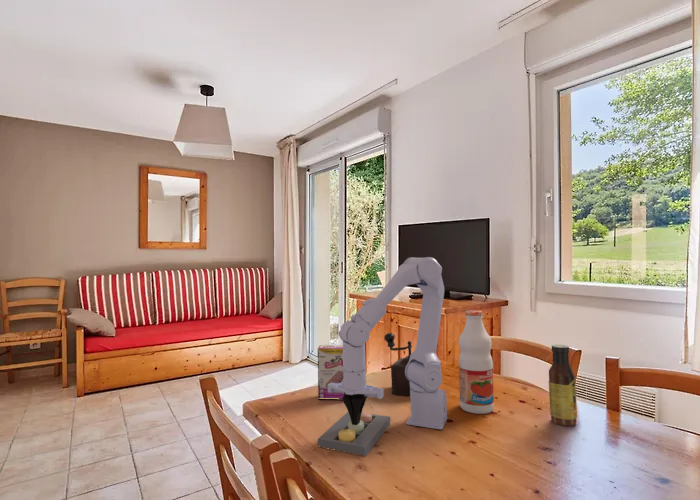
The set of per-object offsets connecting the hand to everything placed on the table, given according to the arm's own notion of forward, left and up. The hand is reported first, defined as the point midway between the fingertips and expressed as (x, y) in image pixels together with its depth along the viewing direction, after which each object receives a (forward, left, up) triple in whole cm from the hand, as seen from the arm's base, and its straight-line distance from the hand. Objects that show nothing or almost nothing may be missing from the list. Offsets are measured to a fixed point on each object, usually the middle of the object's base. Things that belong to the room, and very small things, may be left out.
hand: (355, 423), depth 101 cm
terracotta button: (0, -6, -2) cm, 6 cm away
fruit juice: (-26, -28, -3) cm, 38 cm away
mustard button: (0, +6, -2) cm, 6 cm away
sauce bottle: (-48, -26, -3) cm, 55 cm away
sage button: (0, 0, -2) cm, 2 cm away
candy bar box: (+16, -22, -3) cm, 27 cm away
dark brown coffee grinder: (-2, -36, -3) cm, 36 cm away
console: (0, 0, -3) cm, 3 cm away
